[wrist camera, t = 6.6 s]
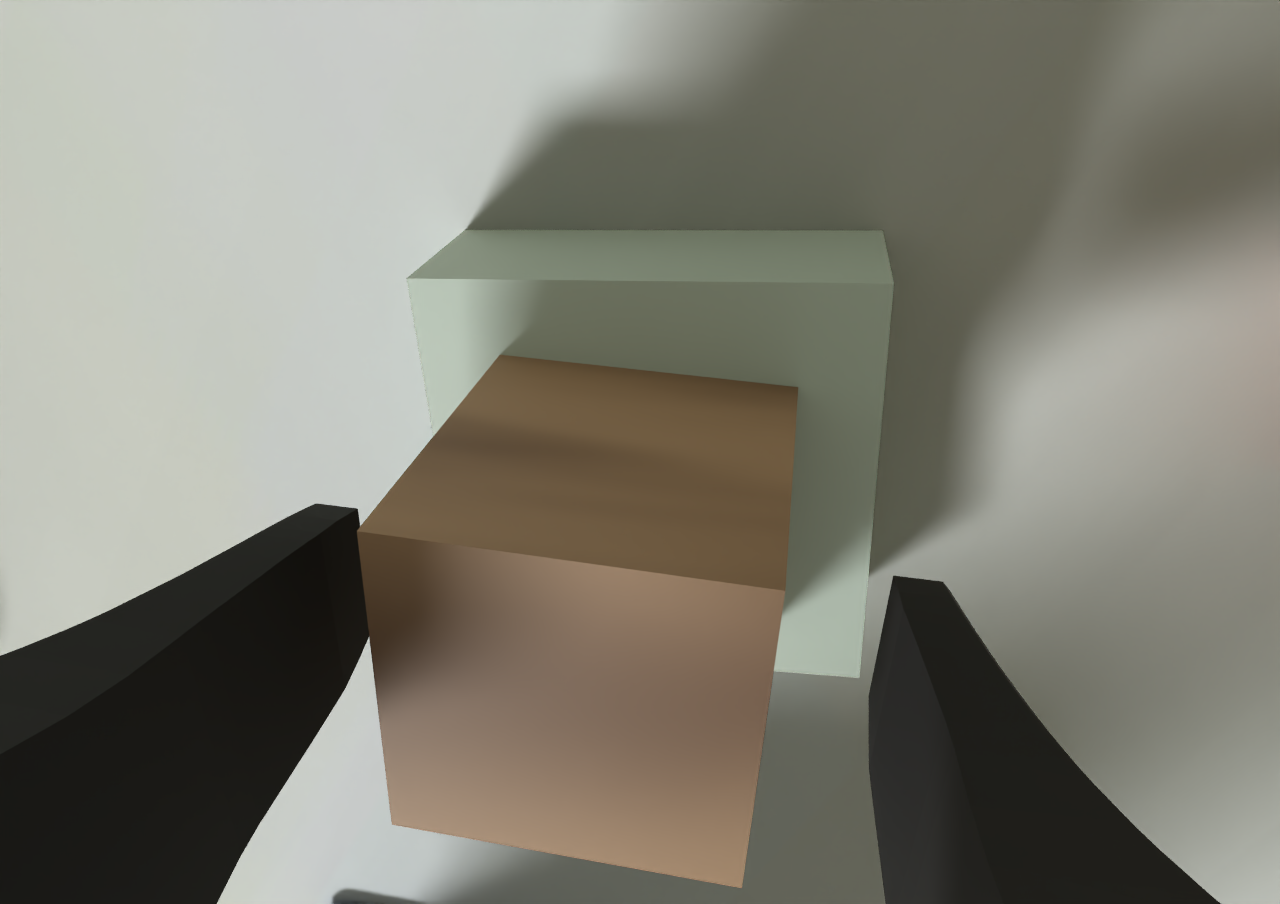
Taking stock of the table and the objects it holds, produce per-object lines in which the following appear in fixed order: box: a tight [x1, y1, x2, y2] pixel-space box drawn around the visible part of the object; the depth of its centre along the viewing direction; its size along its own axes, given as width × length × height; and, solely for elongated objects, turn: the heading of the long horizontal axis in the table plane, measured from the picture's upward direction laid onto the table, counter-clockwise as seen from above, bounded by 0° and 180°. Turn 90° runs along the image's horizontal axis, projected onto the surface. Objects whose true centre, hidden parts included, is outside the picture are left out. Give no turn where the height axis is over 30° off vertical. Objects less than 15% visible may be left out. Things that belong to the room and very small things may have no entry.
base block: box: [407, 230, 894, 678], centre depth 16 cm, size 7×7×3 cm
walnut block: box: [357, 355, 798, 888], centre depth 13 cm, size 4×4×5 cm
